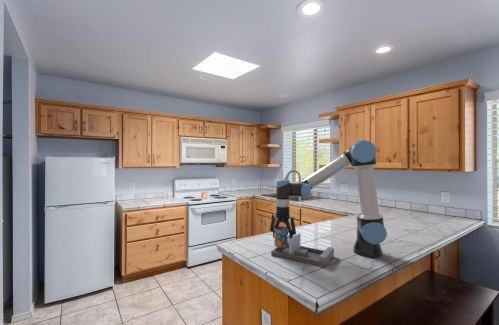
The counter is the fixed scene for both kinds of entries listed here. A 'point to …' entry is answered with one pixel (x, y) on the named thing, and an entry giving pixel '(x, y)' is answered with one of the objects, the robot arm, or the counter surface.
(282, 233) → the mug
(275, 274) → the counter surface
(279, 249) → the grey tray
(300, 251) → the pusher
